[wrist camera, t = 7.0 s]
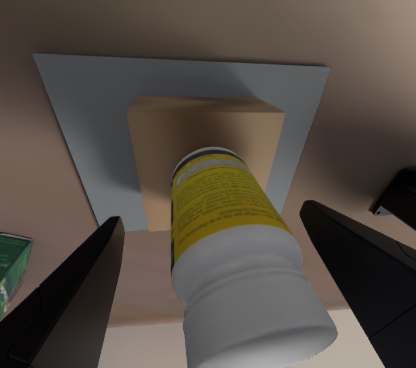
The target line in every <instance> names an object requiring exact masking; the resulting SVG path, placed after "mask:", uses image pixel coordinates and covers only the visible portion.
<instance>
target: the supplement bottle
mask: <svg viewBox="0 0 416 368" xmlns="http://www.w3.org/2000/svg"><path fill="white" fill-rule="evenodd" d="M302 263H303V258H302V252H301V249H300V246H299V244H298V242H297V241H296V239H295V237H294V236H293V234H292V233H291V231H290V230H289V228H288V227H287V225H286V224H285V222H284V221H283V219H282V218H281V216H280V215H279V213H278V212H277V210H276V209H275V208H274V206H273V205H272V203H271V202H270V200H269V199H268V197H267V196H266V194H265V193H264V191H263V190H262V188H261V187H260V185H259V184H258V182H257V180H256V179H255V177H254V176H253V174H252V173H251V171H250V170H249V168H248V167H247V165H246V164H245V162H244V161H243V160H242V159H241V158H240V157H239V156H238V155H237V154H236V153H234V152H233V151H231V150H229V149H226V148H222V147H206V148H201V149H198V150H196V151H194V152H192V153H190V154H188V155H187V156H186V157H184V158H183V159H182V160H181V161H180V162H179V163H178V165H177V166H176V168H175V169H174V171H173V174H172V177H171V277H172V285H173V289H174V292H175V294H176V295H177V297H178V298H179V300H180V301H181V302H182V303H183V304H184V305H186V309H185V311H184V322H183V331H184V335H185V345H186V356H187V366H188V368H288V367H291V366H293V365H296V364H298V363H300V362H302V361H305V360H307V359H309V358H311V357H313V356H315V355H317V354H318V353H320V352H322V351H323V350H325V349H326V348H327V347H328V346H330V345H331V344H332V343H333V342H334V341H335V340H336V338H337V335H338V332H337V329H336V326H335V324H334V322H333V320H332V319H331V317H330V316H329V314H328V312H327V310H326V308H325V307H324V305H323V303H322V302H321V300H320V298H319V296H318V295H317V293H316V291H315V289H314V287H313V286H312V284H311V283H310V282H309V281H308V279H307V277H306V276H305V275H303V274H302V273H300V272H301V269H302Z"/></svg>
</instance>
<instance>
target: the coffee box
mask: <svg viewBox="0 0 416 368" xmlns="http://www.w3.org/2000/svg"><path fill="white" fill-rule="evenodd" d="M32 243H33V240H32V239H29V238H25V237H20V236H15V235H10V234H5V233H3V234H0V319H1V318H2V316H3V314H4V313H5V311H6V309H7V308H8V306H9V305H10V303H11V301H12V299H13V298H14V296H15V295H16V293H17V291H18V290H19V288H20V286H21V285H22V281H23V277H24V274H25V270H26V267H27V262H28V258H29V255H30V252H31V246H32Z"/></svg>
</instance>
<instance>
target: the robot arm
mask: <svg viewBox="0 0 416 368" xmlns="http://www.w3.org/2000/svg"><path fill="white" fill-rule="evenodd" d="M372 213H373V214H374V215H375V216H380V215H389V214H393V215H394V216H396V217H397V218H398V219H400V220H401V221H403V222H404V223H405V224H407V225H408V226H409V227H411V228H412V229H414V230H415V231H416V168H406V169H403V170H402V171H401V172H400V173H399V174H398V175H397V177H396V178H395V180H394V181H393V183H392V184H391V185H390V187H389V188H388V190H387V191H386V192H385V194H384V195H383V197H382V198H381V200H380V201H379V202H378V204H377V205H376V207H375V208H374V210H373V211H372ZM300 218H301V220H302V222H303V224H304V227H305V229H306V231H307V233H308V235H309V237H310V239H311V241H312V243H313V245H314V247H315V249H316V250H317V252H318V254H319V256H320V257H321V259H322V261H323V262H324V264H325V266H326V267H327V269H328V271H329V273H330V274H331V276H332V278H333V279H334V281H335V283H336V284H337V286H338V288H339V290H340V291H341V293H342V295H343V296H344V298H345V300H346V301H347V303H348V305H349V307H350V308H351V310H352V311H353V313H354V315H355V317H356V318H357V320H358V322H359V323H360V325H361V327H362V328H363V330H364V332H365V334H366V335H367V337H368V339H369V341H370V343H371V344H372V346H373V348H374V349H375V351H376V353H377V354H378V356H379V358H380V360H381V361H382V363H383V365H384V366H385V368H416V250H415V249H413V248H411V247H409V246H407V245H405V244H402V243H400V242H398V241H396V240H394V239H392V238H390V237H388V236H386V235H384V234H382V233H380V232H378V231H376V230H374V229H372V228H370V227H368V226H366V225H363V224H361V223H359V222H357V221H355V220H353V219H351V218H349V217H347V216H345V215H343V214H341V213H339V212H337V211H335V210H333V209H331V208H329V207H327V206H325V205H323V204H320V203H318V202H316V201H314V200H306V201H305V202H304V203H303V205H302V208H301V210H300ZM124 235H125V229H124V225H123V222H122V219H121V217H120V216H111V217H109V218H108V219H107V220H106V221H105V222H104V223H103V224H102V225H101V226H100V227H99V228H98V229H97V230H96V231H95V232H94V233H93V234H92V235H91V236H90V237H88V238H87V239H86V240H85V241H84V242H83V243H82V244H81V245H80V246H79V247H78V248H77V249H76V250H75V251H74V252H73V253H72V254H71V255H70V256H69V257H68V258H67V259H66V260H65V261H64V262H63V263H62V264H61V265H60V266H59V267H58V268H57V269H56V270H54V271H53V272H52V273H51V274H50V275H49V276H48V277H47V278H46V279H45V280H44V281H43V282H42V283H41V284H40V285H39V287H37V288H36V289H35V290H34V291H33V292H32V293H31V294H30V295H29V296H28V297H27V298H25V299H24V300H23V301H22V302H21V303H20V304H19V305H18V306H17V307H16V308H15V309H14V310H13V311H12V312H11V313H9V314H8V315H7V316H6V317H5V318H4V319H3V320H2V321H0V368H97V367H98V362H99V358H100V354H101V349H102V345H103V341H104V337H105V332H106V328H107V324H108V320H109V316H110V311H111V307H112V303H113V299H114V294H115V290H116V286H117V282H118V277H119V273H120V268H121V262H122V253H123V244H124Z"/></svg>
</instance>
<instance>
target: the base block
mask: <svg viewBox="0 0 416 368" xmlns="http://www.w3.org/2000/svg"><path fill="white" fill-rule="evenodd" d="M126 114H127V119H128V125H129V130H130V135H131V140H132V146H133V151H134V156H135V162H136V167H137V172H138V177H139V183H140V188H141V193H142V199H143V204H144V209H145V214H146V220H147V225H148V230H149V232H152V231H162V230H171V177H172V174H173V171H174V169H175V168H176V166H177V165H178V163H179V162H180V161H181V160H182V159H183V158H184V157H186V156H187V155H188V154H190V153H192V152H194V151H196V150H198V149H201V148H206V147H222V148H226V149H229V150H231V151H233V152H234V153H236V154H237V155H238V156H239V157H240V158H241V159H242V160H243V161H244V162H245V164H246V165H247V167H248V168H249V170H250V171H251V173H252V174H253V176H254V177H255V179H256V180H257V182H258V184H259V185H260V187H261V188H262V190H263V191H264V193H265V190H266V186H267V182H268V179H269V175H270V171H271V167H272V163H273V160H274V156H275V152H276V148H277V145H278V141H279V137H280V133H281V129H282V126H283V122H284V118H285V114H286V112H284V111H282V110H280V109H278V108H276V107H274V106H272V105H270V104H268V103H266V102H264V101H262V100H260V99H258V98H235V97H168V96H137V97H136V99H135V100H134V102H133V103H132V105H131V106H130V108H129V109H128V110H127V112H126Z"/></svg>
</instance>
